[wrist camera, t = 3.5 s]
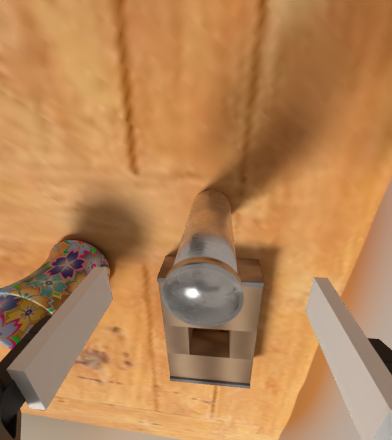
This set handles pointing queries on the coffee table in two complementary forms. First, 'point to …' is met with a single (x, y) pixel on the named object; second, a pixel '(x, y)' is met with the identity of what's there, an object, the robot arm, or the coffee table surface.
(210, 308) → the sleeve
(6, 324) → the floral flared cup
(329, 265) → the coffee table surface
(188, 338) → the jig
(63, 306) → the robot arm
